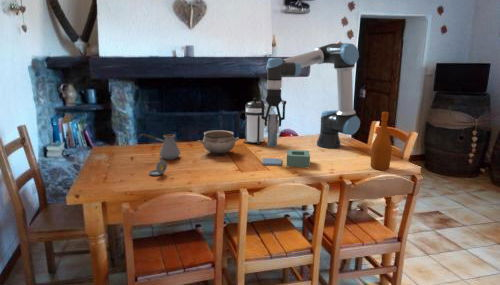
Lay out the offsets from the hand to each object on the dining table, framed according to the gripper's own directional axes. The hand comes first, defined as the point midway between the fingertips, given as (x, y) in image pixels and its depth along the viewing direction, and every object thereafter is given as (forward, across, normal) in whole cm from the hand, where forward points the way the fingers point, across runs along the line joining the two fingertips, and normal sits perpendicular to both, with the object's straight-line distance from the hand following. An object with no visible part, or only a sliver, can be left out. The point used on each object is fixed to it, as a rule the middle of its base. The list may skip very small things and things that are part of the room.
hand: (272, 132), depth 195 cm
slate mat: (+17, 0, 0) cm, 17 cm away
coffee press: (+17, -15, +44) cm, 50 cm away
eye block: (+17, +14, 0) cm, 22 cm away
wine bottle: (+17, +57, -1) cm, 60 cm away
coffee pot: (+18, -62, -1) cm, 64 cm away
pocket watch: (+18, -54, -28) cm, 63 cm away
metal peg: (+7, 0, 0) cm, 7 cm away
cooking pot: (+17, -32, +14) cm, 39 cm away
